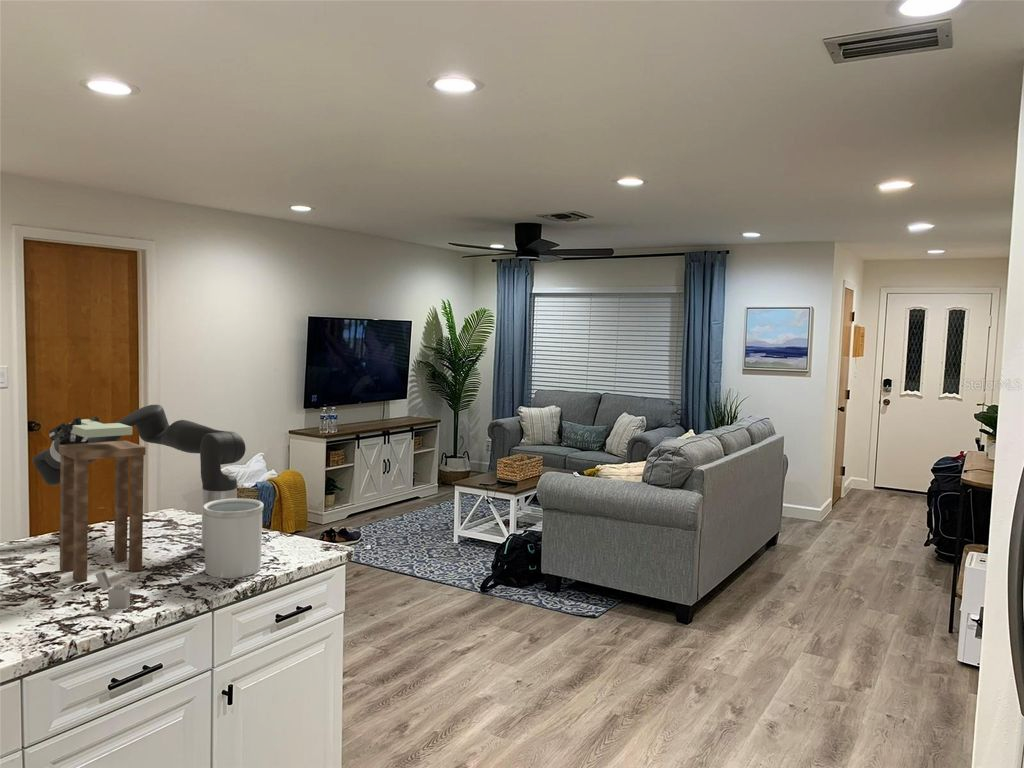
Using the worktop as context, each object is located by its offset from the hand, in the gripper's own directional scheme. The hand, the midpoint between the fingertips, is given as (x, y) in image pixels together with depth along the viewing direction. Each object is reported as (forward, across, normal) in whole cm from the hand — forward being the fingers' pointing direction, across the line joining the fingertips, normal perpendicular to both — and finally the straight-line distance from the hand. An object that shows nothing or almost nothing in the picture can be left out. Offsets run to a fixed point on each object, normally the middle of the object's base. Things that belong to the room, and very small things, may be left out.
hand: (88, 419), depth 200 cm
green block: (+3, 0, +5) cm, 6 cm away
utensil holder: (+8, +25, +48) cm, 55 cm away
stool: (-10, 0, +38) cm, 39 cm away
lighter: (+14, -7, +52) cm, 54 cm away
